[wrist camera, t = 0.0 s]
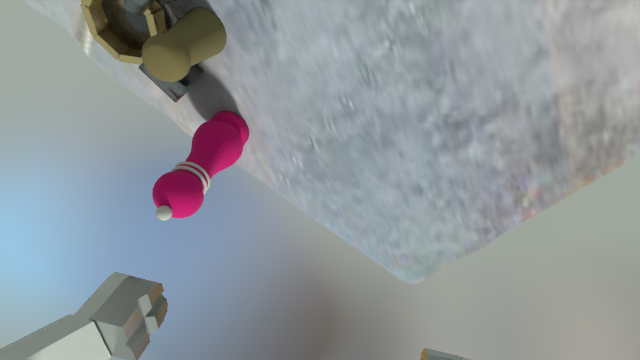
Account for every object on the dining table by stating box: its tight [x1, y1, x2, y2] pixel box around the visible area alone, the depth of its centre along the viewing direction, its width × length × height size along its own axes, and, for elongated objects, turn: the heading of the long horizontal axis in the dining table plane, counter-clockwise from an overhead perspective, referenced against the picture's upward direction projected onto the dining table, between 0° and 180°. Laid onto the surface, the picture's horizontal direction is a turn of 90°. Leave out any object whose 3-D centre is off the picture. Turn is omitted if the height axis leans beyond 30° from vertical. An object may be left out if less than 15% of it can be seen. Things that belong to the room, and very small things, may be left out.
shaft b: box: [139, 62, 203, 103], centre depth 49 cm, size 6×4×6 cm, turn 41°
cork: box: [142, 8, 226, 82], centre depth 43 cm, size 6×6×11 cm
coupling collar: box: [81, 0, 171, 65], centre depth 47 cm, size 10×10×3 cm
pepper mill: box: [153, 111, 249, 220], centre depth 49 cm, size 7×7×20 cm
